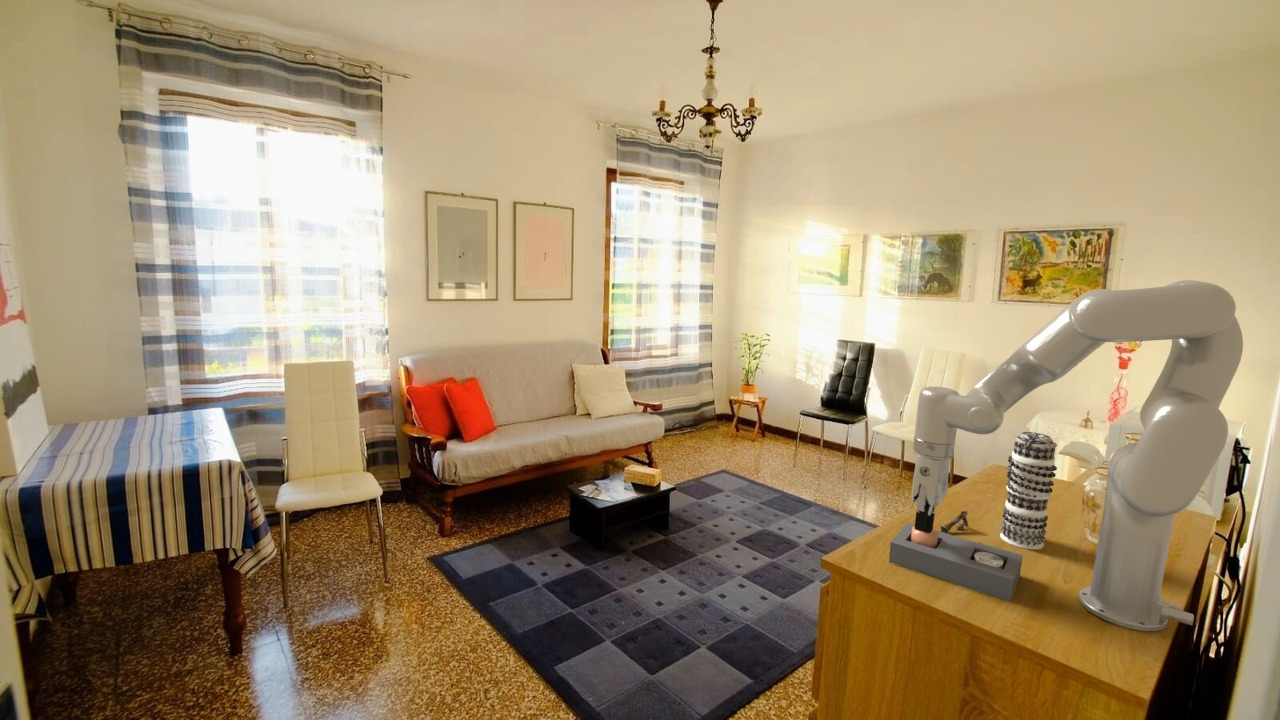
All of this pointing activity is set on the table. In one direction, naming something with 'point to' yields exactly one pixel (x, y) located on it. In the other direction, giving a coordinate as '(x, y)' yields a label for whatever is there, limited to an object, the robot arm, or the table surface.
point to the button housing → (958, 562)
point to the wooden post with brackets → (955, 521)
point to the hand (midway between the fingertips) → (923, 529)
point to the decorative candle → (1028, 490)
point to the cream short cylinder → (989, 559)
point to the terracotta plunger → (925, 538)
